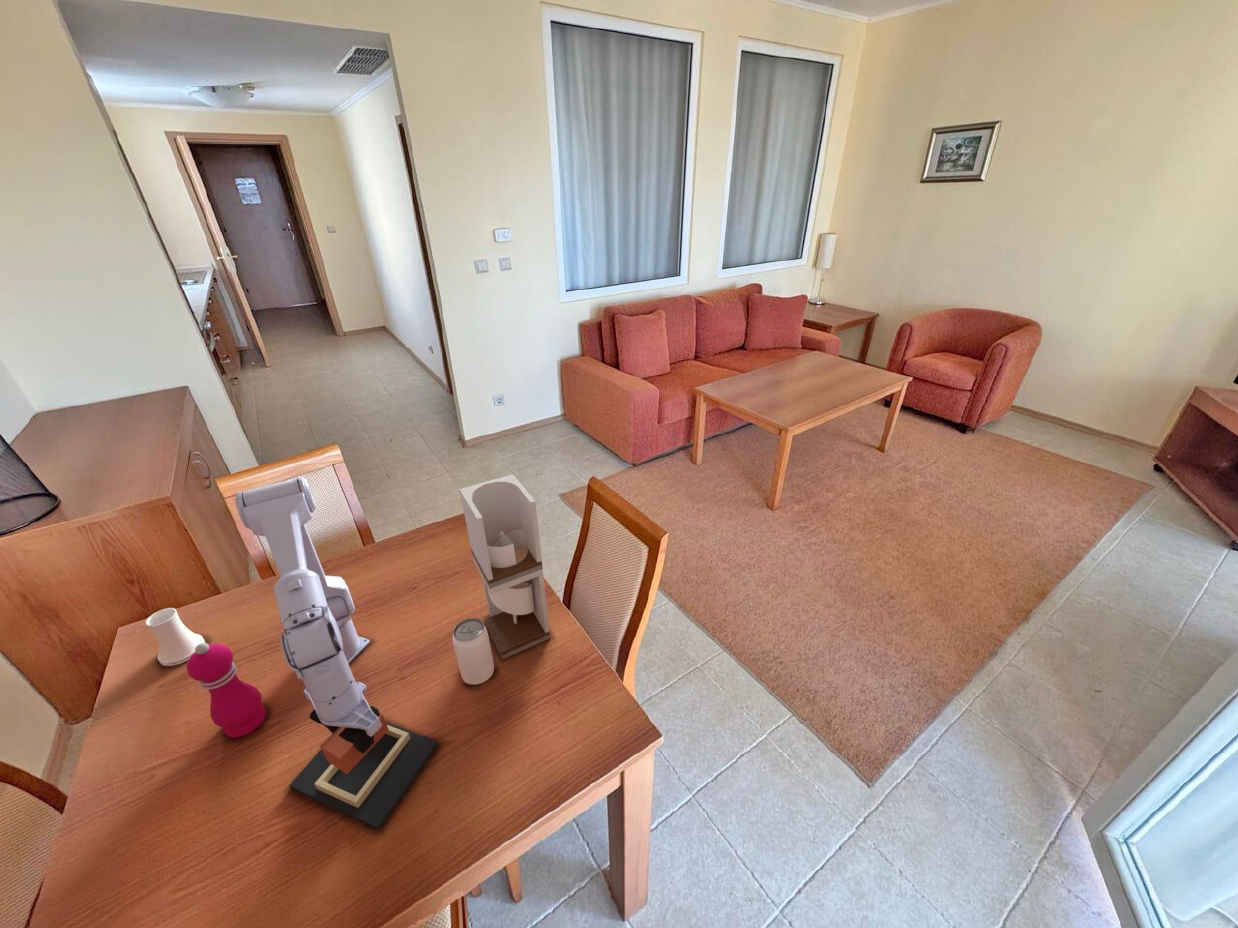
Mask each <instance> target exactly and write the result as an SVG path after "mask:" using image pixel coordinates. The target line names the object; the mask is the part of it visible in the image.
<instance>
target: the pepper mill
mask: <svg viewBox="0 0 1238 928" xmlns="http://www.w3.org/2000/svg"><path fill="white" fill-rule="evenodd" d="M237 671H238V668H237V665H235V663H234V654H233V651H232V649H230V647H228V646H227V645H226V644H222V643H211V644H208V643H207V642H205V643H201V644H199V645H197V646H196V648H195V653H194V654H193V655H192V656H191V657H190V658H189V660H187V663H186V672H187V673H188V674H187V675H188V676H189V677H190V678H191V679H193V680H195V681H197V682H198V684H199V685H200V687H201V688H202V689H204V690H208V693H209V694H210V705H209V712H210V718H211V720H212V722H213V723H214V724H215V726H217V727H219V728H222V731H223V732H224V733H225V735H226V736H227V737H229V738H234V739H235V738H236V739H237V738H241V737H244V736H247V735H249V734H250V733H253V732H254V731H255V730H256V729H258V727H260V725H262V723H263V722H264V721H265V718H266V715H267V710H266V708H265V705H264V704H263V703H262V700H263V697H262V693H261V692H260V691H259V689H258V688H257V687H255V686H254V685H252V684H250V683H247V682H245V681H242V680H241V679H240V678H239V677H238V676H237Z"/></svg>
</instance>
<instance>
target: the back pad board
mask: <svg viewBox="0 0 1238 928" xmlns="http://www.w3.org/2000/svg"><path fill="white" fill-rule="evenodd" d="M386 724H387V727H388V729H389V730H388V731H387V732H386V733H385V734H384V735H383V737H382V738H381V739H380V740H379V741H378V742H377V743H376V744H375V745H374V746H373V747H372V748H371V749H370V750H369V751H368V753H367V754H366V755H365V756H364V757H363V758H362V759H361V760H360V761H359V762H358V763H357V764H356V765H355V766H354V767H353V769H352V770H351V771H350V772H349V773H348V774H346V773H345V772H343V771H341V770H340V769H338V768H337V767H335V766H334V765H332V764H331V763H329V762H328V761H327V759H326V757H325V755H324V753H323V751H322V749H321V748H320V750H319V751H318V752H317V753H316V755H314V757H313V758H312V759H311V760H310V761H309V763H308V764H307V765H306V766H305V767H304V768H303V769H302V770H301V771H300V772H299V773H298V775H297V776H296V777H294V779H293V780H292V781H291V783H290V784H289V785H288V787H289V789H290V790H292V791H294V792H296V793H299V794H301V795H303V796H305V797H307V798H308V799H311V800H313V801H315V802H317V803H320V804H322V805H324V806H326V807H328V808H330V809H332V810H334V811H337V812H338V813H341V814H343V815H345V816H347V817H349V818H351V819H354V820H356V821H358V822H360V823H361V824H364V825H367V826H369V827H371V828H372V829H375V830H377V831H381V829H382V827H383V826H384V825H385V823H386V822H387V821H388V819H389V817H391V815H392V814H393V812H394V810H395V809H396V808H397V806H398V804H399V803H400V802H401V800H402V799H403V797H404V796H405V794H406V793H407V791H408V790H409V788H410V787H411V785H412V784H413V782H414V781H415V780H416V779H417V777H418V776H419V774H420V773H421V771H422V770H423V768H424V767H425V765H426V764H427V762H428V761H429V759H430V758H431V756H432V755H433V754H434V752H435V751H436V749H437V748H438V746H439V742H438V741H437V740H435V739H432V738H430V737H427V736H424V735H422V734H419V733H417V732H414V731H412V730H409V729H407V728H403V727H401V726H398V725H395V724H394V723H391V722H389V721H386Z"/></svg>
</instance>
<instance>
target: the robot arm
mask: <svg viewBox="0 0 1238 928" xmlns="http://www.w3.org/2000/svg"><path fill="white" fill-rule="evenodd" d="M234 503H235V507H236V510H237V513H238V517H239V518H240V521H241V523H242V525H243V526H244V527H245V528H246V529H249V530H250V531H251V532H252V534H253V535H254V536H259V537H265V540H266V542H267V544H268V547H269V550H270V552H271V555H272V558H273V560H274V563H275V565H276V569H277V570H278V573H279V579H278V580H277V581H276V583H275V584H274V586H273V593H274V598H275V601H276V605H277V609H278V613H279V617H280V621H281V622H280V623H281V626H282V630H283V634H280V647H281V650H282V654H283V656H284V660H285V662H286V664H287V665H288V666H289V668H290V670H291V672H293V673H294V674H295V675H296V677H297V680H302V683H303V684H304V686H305V689H304V690H303V693H304V696H305V697H306V699H307V700H308V701H310V702H311V704H312V707H313V708H314V709H313V710H312V711H311V712H310V714H309V719H310V720H312V721H313V722H315V723H316V724H319V725H322V726H324V727H325V728H326V729H327V730H328V731H329V732H330V733H331V734H333V733H334V732H335V731H336V730H337V729H338V728H339V727H346V728H345V729H344V730H343V731H342V732H341V733H340V734H339V737H341V738H343V739H344V740H346V741H348V742H350V743H352V744H353V745H354V746H355V747H356V749H357V750H358V751H360V752H361V753H363V754H364V753H365V752H366V751H367V750H368V749H369V748H370V747H371V746H372V745H373V744H374V734H375V733H376V732H377V731H378V730H379V729H380V727H381V726H382V723H381V721H380V718H379V715H380V713H381V712H380V710H379V709H378V708H377V707H375V706H373V705H369V703H368V701H367V699H366V698H365V696H364V693H365V692H366V691H367V685H366V684H365V683H363V682H361V681H356V679H355V677H354V675H353V671H352V670H351V667H350V665H349V664H350V663H351V662H352V661H353V660H354V659H355V658H356V657H357V656H358V655H359V654H360V653H361V652H362V651H363V650H364V649H365V648H366V647H367V646H368V645H369V644H370V643H371V640H370V639H368V638H365V637H362V636H359V635H358V633H357V630H356V627H355V624H354V622H353V620H352V617H351V615H353V614H354V612H355V611H356V608H355V604H354V601H353V597H352V595H351V591H350V589H349V587H348V585H347V583H346V581H345V579H343V577H342V576H337V575H326V573H325V572H324V569H323V566H322V564H321V561H320V559H319V556H318V553H317V551H316V548H315V546H314V543H313V541H312V538H311V536H310V532H309V530H308V528H307V526H306V524H307V523H308V522H310V520H312V518H313V515H312V513H314V512H315V510H316V508H317V507H316V502H315V499H314V496H313V493H312V490H311V487H310V484H309V482H308V479H307V478H306V477H303V476H302V475H301V476H297V477H295V478H292V479H287V480H284V481H279V482H275V483H272V484H267V485H264V486H260V487H256V488H252V489H247V490H244V491H242V490H241V491H238V492H237V493H236V495H235V496H234Z"/></svg>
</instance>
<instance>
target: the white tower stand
mask: <svg viewBox="0 0 1238 928" xmlns="http://www.w3.org/2000/svg"><path fill="white" fill-rule="evenodd" d="M458 491H459V494H460V500H461V505H462V510H463V515H464V521H465V524H466V530H467V536H468V541H469V547H470V551H471V556H472V560H473V563H474V565H475V567H476V568H477V569H476V570H477V571H478V573H479V575H480V576H481V579H482V582H483V588H484V593H485V599H486V604H487V609H488V614H486V615H484V617H483V618H484V622H485V626H486V628H487V631H489V632H488V633H489V634H490V636H491V638H492V640H493V642H494V644H495V647H496V649H497V650H498V651H497V652H498V653H499V656H500V657H501V659H502V660H504V659H507V658H509V657H511V656H513V655H516V654H518V653H520V652H523V651H524V650H527V649H529V648H531V647H533V646H535V645H538V644H541V643H542V642H545V641H547V640H550V639H551V632H550V624H549V623H550V622H549V614H548V606H547V605H548V604H547V596H546V586H545V578H544V567H543V559H542V550H541V541H540V532H539V531H540V530H539V524H538V514H537V513H538V512H537V503H536V500H535V499H534V498H533V496H532V495H531V494H530V493H529V491H528V490H527V489H526V488H525V487H524V485H523V484H522V483H521V482H520V481H519V479H518V478H517V477H516V476H515V475H514V474H508V475H506V476H502V477H498V478H495V479H491V480H487V481H484V482H480V483H476V484H473V485H469V486H466V487H463V488H459V490H458Z"/></svg>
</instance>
